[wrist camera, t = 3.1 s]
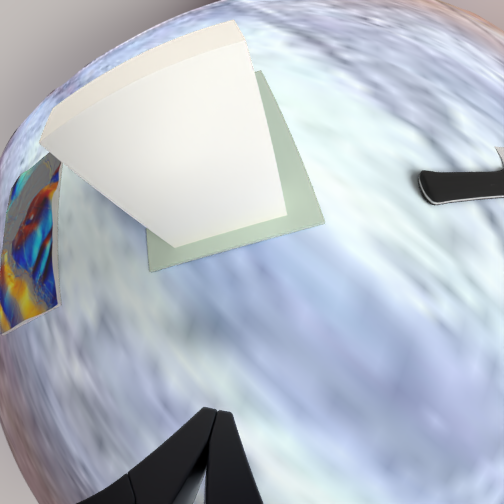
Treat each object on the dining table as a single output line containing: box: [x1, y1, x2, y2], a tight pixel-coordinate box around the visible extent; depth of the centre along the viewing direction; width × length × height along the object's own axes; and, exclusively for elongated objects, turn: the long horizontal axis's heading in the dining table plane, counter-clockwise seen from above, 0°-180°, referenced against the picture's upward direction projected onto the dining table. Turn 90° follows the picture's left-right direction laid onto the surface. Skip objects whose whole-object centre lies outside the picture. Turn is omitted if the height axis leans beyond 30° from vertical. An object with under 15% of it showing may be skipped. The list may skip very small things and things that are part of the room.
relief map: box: [0, 152, 63, 335], centre depth 27 cm, size 25×15×2 cm, turn 20°
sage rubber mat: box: [146, 71, 325, 272], centre depth 24 cm, size 20×14×1 cm
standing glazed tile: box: [39, 20, 287, 248], centre depth 14 cm, size 3×9×14 cm, turn 103°
